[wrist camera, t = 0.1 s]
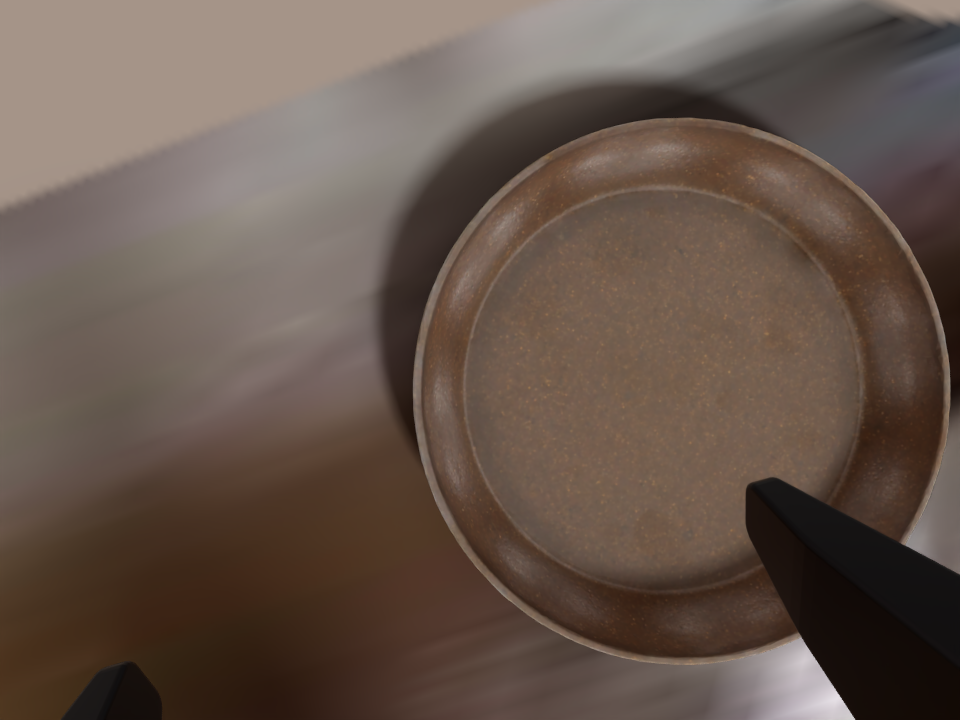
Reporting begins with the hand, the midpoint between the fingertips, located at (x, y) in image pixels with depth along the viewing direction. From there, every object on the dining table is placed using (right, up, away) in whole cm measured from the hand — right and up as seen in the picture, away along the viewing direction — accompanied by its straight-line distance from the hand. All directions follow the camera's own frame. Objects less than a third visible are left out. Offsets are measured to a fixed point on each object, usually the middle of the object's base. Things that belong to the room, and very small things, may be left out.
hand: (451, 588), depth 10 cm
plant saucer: (+7, +2, +16) cm, 17 cm away
